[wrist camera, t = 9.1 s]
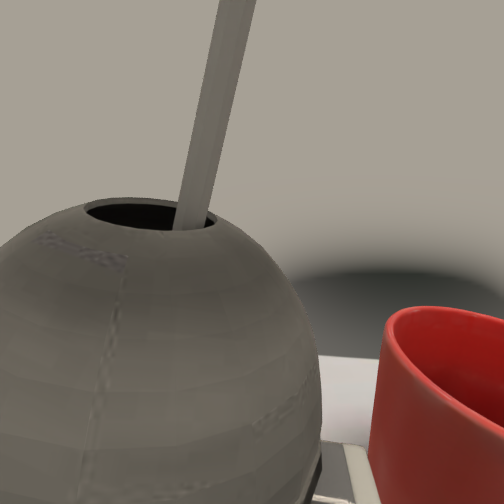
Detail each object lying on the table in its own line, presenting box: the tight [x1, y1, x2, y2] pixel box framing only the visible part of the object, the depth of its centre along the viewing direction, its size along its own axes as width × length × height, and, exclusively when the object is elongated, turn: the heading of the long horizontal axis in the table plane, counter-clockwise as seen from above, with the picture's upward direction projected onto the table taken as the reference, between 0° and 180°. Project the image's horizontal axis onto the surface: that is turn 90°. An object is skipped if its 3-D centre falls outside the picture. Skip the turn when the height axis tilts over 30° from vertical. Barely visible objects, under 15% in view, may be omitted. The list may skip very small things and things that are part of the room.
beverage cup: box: [0, 0, 322, 504], centre depth 8 cm, size 7×7×20 cm
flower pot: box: [368, 306, 504, 504], centre depth 17 cm, size 11×11×10 cm
